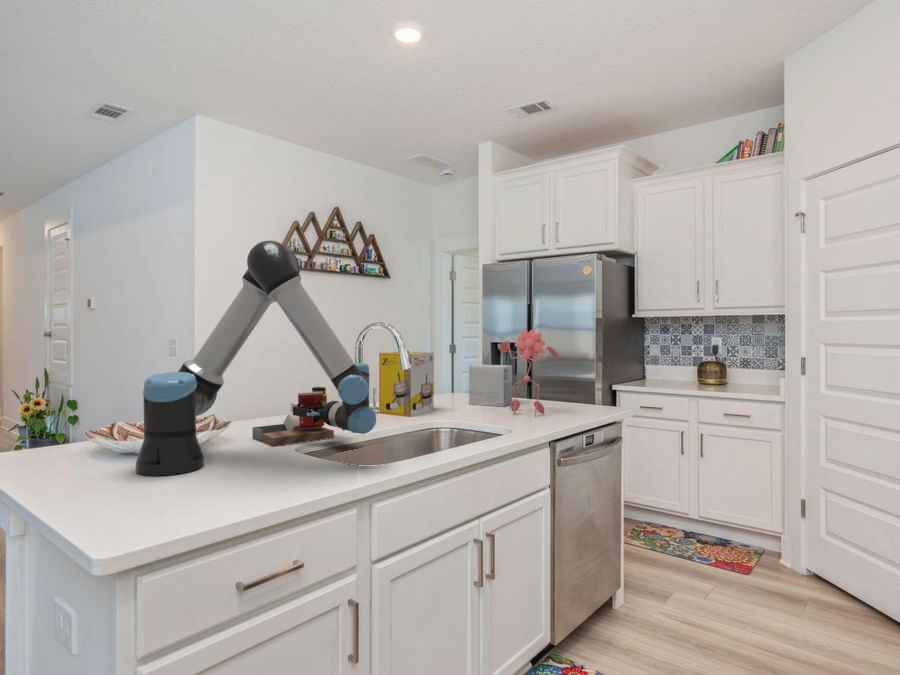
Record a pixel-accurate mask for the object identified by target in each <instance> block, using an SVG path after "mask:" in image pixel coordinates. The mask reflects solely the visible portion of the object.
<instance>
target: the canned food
mask: <svg viewBox="0 0 900 675" xmlns="http://www.w3.org/2000/svg"><path fill="white" fill-rule="evenodd" d="M297 401H298V403H297V404H301V405H302V406H305V407H314V406H324V401H323V392H312V391H308V392H307V391H306V392H298V394H297ZM318 409H319V408H318ZM299 425H300V428H316V427H324V426H325V422H324V421H323V419H321V418H315V417H314V416H313V417H312V418H311V419H309V418H306V417H301V416H299Z"/></svg>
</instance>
